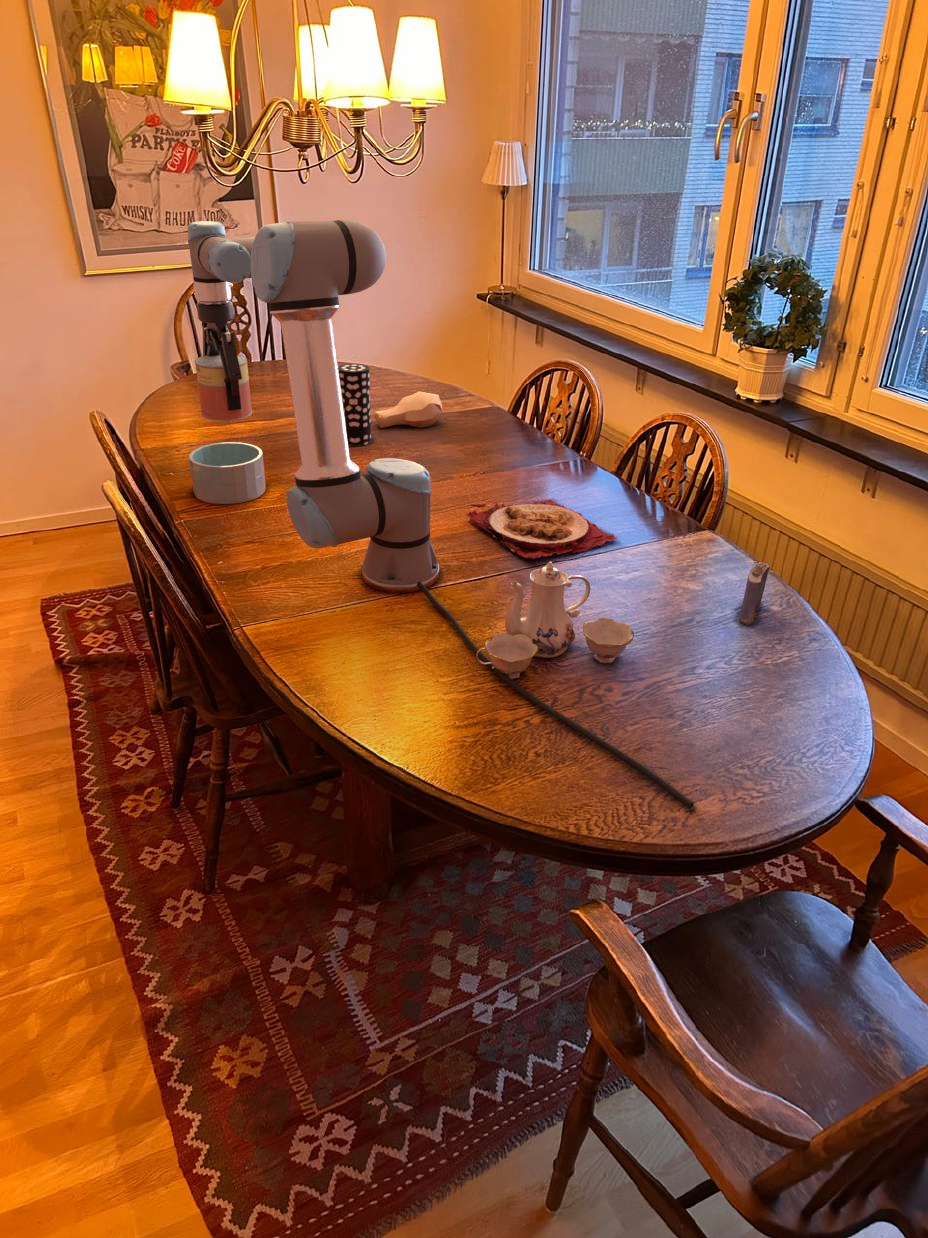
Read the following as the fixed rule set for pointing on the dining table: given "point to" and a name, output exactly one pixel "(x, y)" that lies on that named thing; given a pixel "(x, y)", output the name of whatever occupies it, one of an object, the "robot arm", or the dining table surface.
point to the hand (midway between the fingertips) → (225, 402)
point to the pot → (227, 472)
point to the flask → (753, 592)
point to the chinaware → (550, 626)
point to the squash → (412, 411)
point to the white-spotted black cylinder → (356, 402)
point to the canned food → (221, 389)
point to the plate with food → (540, 528)
